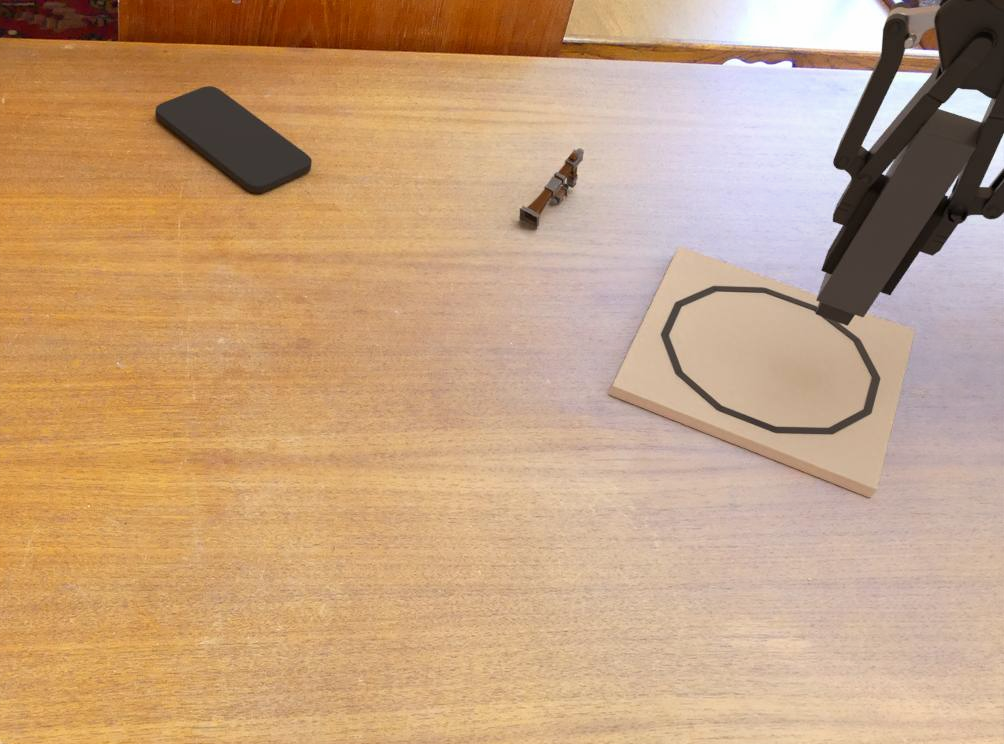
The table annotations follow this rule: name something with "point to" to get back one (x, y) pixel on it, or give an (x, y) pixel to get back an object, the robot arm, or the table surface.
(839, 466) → the sketch board
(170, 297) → the table surface
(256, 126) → the phone
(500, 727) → the table surface
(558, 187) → the brown two-tone long part
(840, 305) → the marker
